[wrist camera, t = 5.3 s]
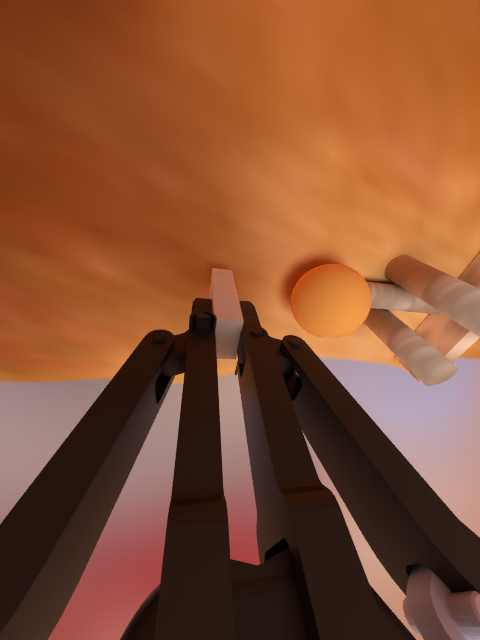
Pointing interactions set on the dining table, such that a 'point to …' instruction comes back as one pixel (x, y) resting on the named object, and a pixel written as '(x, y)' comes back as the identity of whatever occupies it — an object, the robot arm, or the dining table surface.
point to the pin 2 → (410, 348)
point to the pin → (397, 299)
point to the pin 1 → (438, 290)
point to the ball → (331, 300)
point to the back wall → (449, 325)
